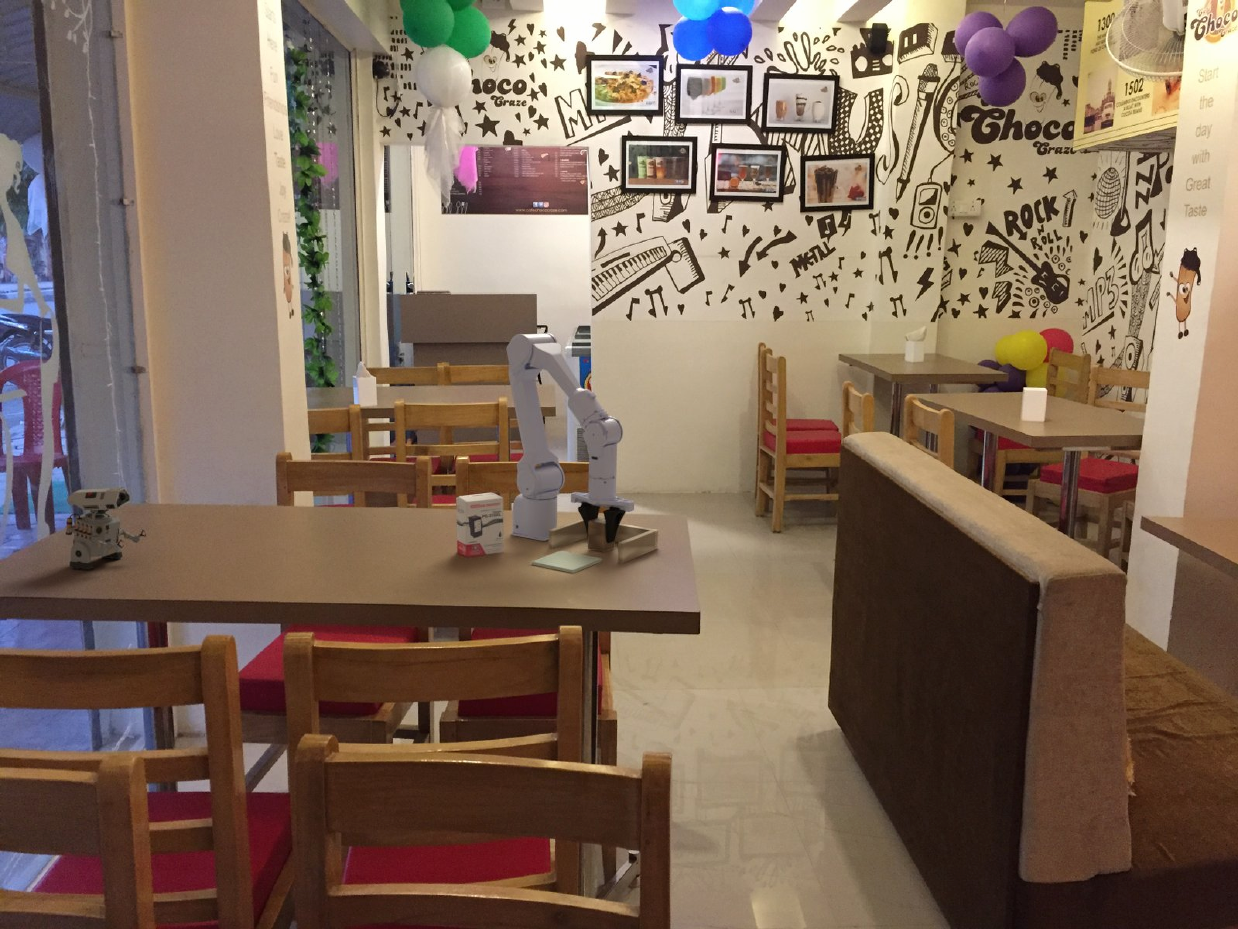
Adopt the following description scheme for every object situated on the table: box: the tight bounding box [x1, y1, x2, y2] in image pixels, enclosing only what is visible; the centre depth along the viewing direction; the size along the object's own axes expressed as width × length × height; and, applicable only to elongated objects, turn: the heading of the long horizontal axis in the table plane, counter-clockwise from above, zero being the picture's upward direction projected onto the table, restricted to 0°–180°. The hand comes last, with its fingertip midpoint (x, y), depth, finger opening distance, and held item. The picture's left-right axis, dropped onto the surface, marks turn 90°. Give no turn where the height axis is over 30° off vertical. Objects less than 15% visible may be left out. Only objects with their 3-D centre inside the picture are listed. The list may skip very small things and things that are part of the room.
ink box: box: [455, 492, 504, 558], centre depth 205 cm, size 8×5×12 cm, turn 123°
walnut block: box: [587, 516, 616, 553], centre depth 210 cm, size 4×4×6 cm
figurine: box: [65, 487, 147, 571], centre depth 192 cm, size 9×12×15 cm
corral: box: [548, 518, 659, 564], centre depth 210 cm, size 18×14×4 cm
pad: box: [531, 550, 603, 574], centre depth 200 cm, size 10×10×1 cm
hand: (601, 540), depth 210 cm, fingers closed on walnut block, 4 cm apart
